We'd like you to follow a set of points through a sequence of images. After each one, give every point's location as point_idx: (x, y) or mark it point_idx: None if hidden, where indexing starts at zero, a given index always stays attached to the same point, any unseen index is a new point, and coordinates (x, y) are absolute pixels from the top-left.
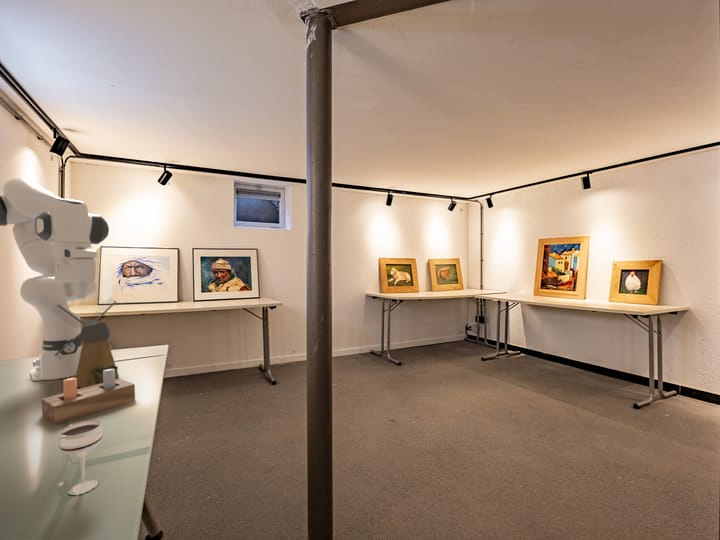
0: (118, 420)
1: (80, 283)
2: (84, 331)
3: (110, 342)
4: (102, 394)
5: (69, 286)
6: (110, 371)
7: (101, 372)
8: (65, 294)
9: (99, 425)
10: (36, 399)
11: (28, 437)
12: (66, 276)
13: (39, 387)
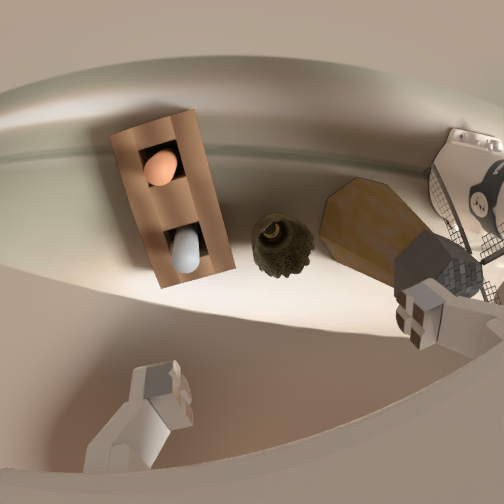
0: (68, 232)
1: (3, 468)
2: (436, 253)
3: None
4: (137, 224)
5: (475, 350)
6: (172, 262)
7: (305, 239)
8: (417, 293)
9: None
10: (329, 108)
11: (90, 96)
12: (388, 487)
13: (408, 127)
